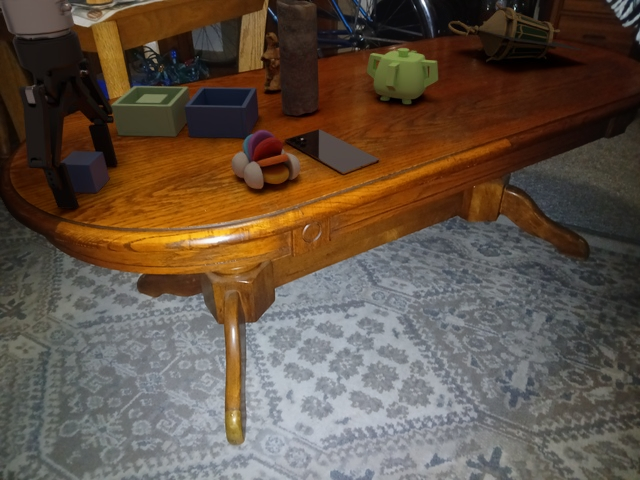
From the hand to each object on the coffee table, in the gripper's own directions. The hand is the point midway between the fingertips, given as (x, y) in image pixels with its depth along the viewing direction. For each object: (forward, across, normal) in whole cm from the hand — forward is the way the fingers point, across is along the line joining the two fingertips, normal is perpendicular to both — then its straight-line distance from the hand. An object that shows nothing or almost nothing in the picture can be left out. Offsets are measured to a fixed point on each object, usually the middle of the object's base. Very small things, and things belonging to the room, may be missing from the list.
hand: (90, 184), depth 76 cm
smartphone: (0, +14, -35) cm, 38 cm away
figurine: (+1, +45, -21) cm, 50 cm away
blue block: (0, 0, 0) cm, 0 cm away
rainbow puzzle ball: (+1, +4, -26) cm, 26 cm away
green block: (0, +24, -2) cm, 24 cm away
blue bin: (0, +24, -15) cm, 28 cm away
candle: (+1, +33, -28) cm, 43 cm away
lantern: (+1, +72, -76) cm, 105 cm away
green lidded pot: (+1, +42, -48) cm, 64 cm away
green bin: (0, +24, -2) cm, 24 cm away
